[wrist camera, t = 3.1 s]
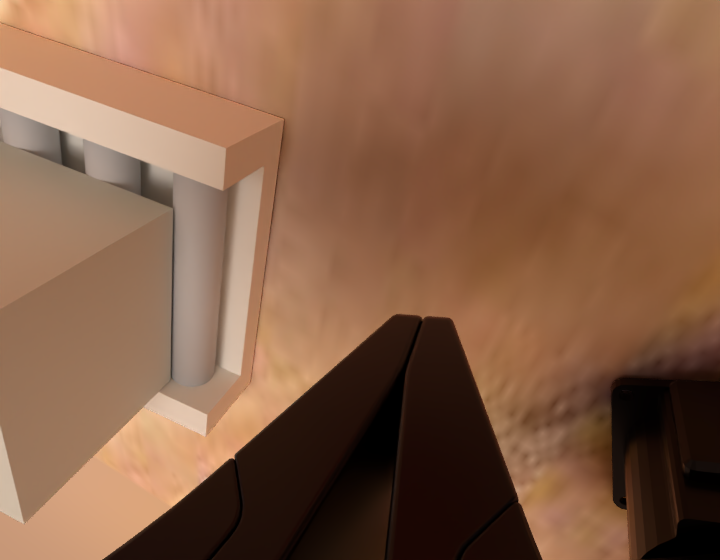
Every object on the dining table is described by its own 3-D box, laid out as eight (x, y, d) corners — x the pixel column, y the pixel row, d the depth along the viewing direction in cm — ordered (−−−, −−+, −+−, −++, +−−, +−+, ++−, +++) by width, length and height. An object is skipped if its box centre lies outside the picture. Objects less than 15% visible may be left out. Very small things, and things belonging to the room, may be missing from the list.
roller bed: (284, 118, 21) (225, 148, 17) (250, 382, 28) (205, 436, 25) (-152, -29, 25) (-266, -27, 21) (-78, 236, 32) (-153, 267, 29)
